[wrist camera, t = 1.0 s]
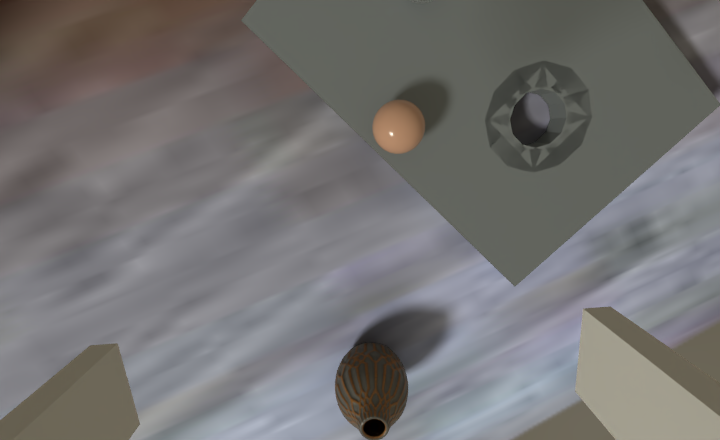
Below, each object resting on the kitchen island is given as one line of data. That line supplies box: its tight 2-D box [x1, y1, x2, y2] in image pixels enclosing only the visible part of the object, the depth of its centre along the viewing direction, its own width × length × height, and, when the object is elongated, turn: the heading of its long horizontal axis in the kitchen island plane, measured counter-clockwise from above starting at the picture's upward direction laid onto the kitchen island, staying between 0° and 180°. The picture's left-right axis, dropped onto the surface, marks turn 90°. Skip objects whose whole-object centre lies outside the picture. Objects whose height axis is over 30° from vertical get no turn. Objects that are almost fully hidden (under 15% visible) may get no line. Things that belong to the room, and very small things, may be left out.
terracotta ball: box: [372, 100, 425, 154], centre depth 27 cm, size 4×4×4 cm
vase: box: [335, 343, 408, 440], centre depth 33 cm, size 7×7×9 cm
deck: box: [241, 0, 720, 286], centre depth 29 cm, size 32×22×2 cm
